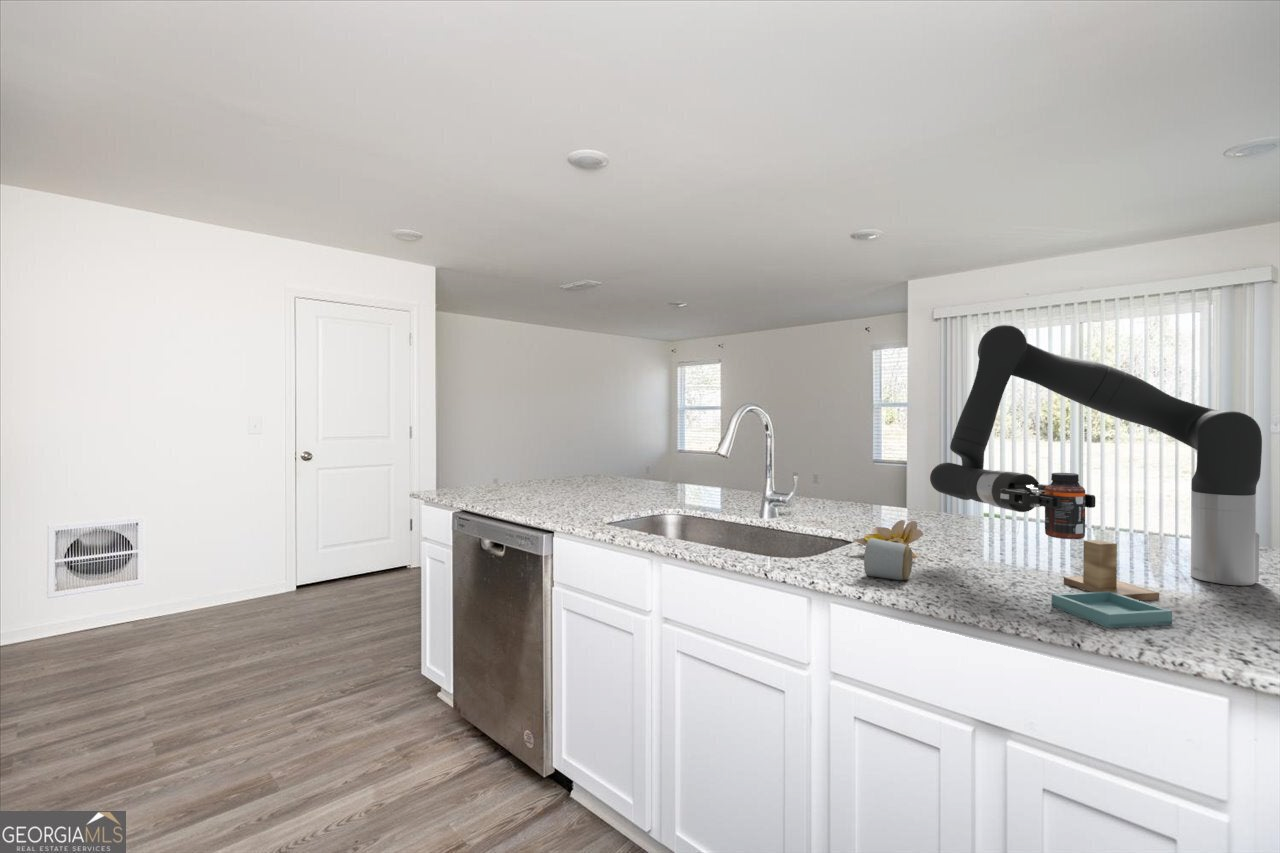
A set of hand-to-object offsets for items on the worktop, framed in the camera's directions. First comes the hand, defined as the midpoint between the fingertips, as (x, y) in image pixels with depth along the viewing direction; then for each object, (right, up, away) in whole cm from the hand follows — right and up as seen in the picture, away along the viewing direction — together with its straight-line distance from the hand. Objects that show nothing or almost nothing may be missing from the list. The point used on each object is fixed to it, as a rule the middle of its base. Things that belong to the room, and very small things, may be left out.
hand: (1076, 502), depth 108 cm
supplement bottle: (0, -7, +3) cm, 7 cm away
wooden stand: (+11, -17, +7) cm, 22 cm away
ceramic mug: (-25, -18, +19) cm, 36 cm away
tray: (+1, -18, -6) cm, 19 cm away
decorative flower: (-18, -17, +37) cm, 44 cm away
